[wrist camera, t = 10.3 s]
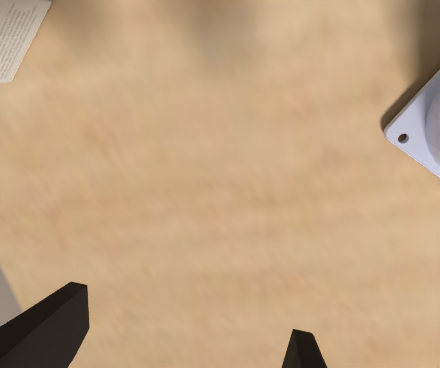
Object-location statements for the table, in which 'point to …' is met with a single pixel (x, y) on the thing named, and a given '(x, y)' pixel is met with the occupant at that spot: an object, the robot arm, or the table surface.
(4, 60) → the skincare box
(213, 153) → the table surface
